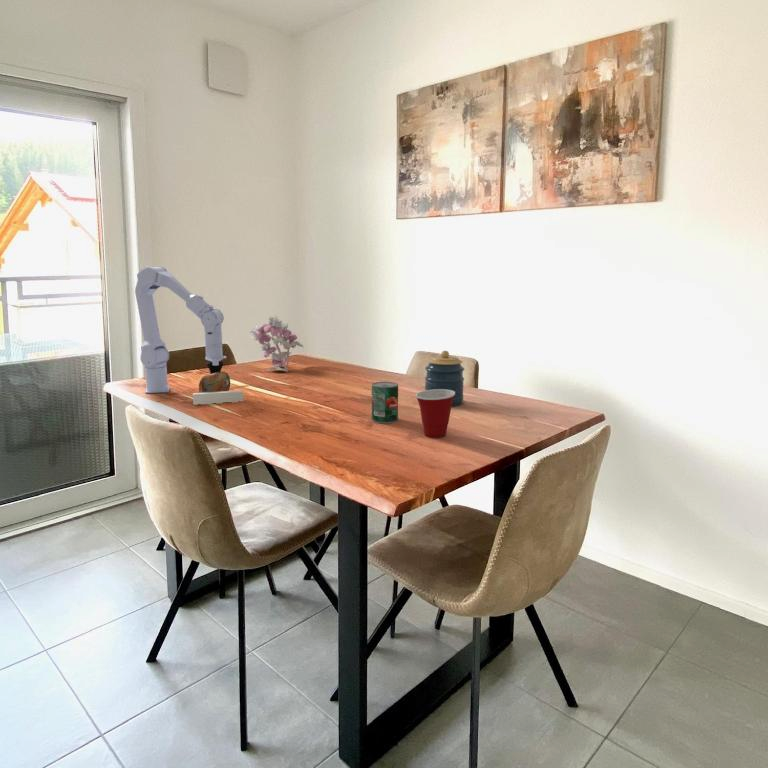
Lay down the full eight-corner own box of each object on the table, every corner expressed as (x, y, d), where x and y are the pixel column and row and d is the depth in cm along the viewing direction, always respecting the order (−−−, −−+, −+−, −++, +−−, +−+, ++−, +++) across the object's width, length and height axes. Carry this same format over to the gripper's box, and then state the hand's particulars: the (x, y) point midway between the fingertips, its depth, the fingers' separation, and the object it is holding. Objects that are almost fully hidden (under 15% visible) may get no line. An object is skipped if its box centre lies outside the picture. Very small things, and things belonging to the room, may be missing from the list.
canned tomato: (372, 416, 185) (372, 381, 183) (398, 417, 185) (398, 381, 183) (370, 423, 178) (370, 386, 176) (397, 423, 177) (398, 386, 175)
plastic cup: (412, 430, 171) (412, 388, 169) (450, 429, 172) (451, 387, 170) (417, 441, 160) (418, 396, 158) (457, 440, 161) (459, 396, 159)
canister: (419, 405, 200) (420, 352, 197) (430, 397, 212) (431, 347, 209) (458, 408, 196) (459, 354, 193) (467, 400, 208) (468, 349, 205)
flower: (321, 365, 268) (301, 312, 270) (293, 367, 247) (272, 311, 249) (285, 381, 276) (267, 330, 278) (256, 385, 255) (236, 330, 257)
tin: (205, 402, 203) (204, 377, 201) (197, 401, 204) (196, 376, 202) (231, 393, 217) (231, 370, 215) (223, 392, 218) (223, 369, 216)
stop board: (193, 403, 201) (192, 393, 200) (242, 400, 206) (242, 390, 205) (193, 404, 199) (192, 394, 198) (243, 401, 204) (242, 391, 203)
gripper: (226, 346, 208) (228, 385, 210) (224, 341, 221) (226, 378, 224) (205, 347, 206) (207, 386, 208) (204, 342, 219) (206, 379, 222)
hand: (215, 382), depth 216 cm, fingers closed
